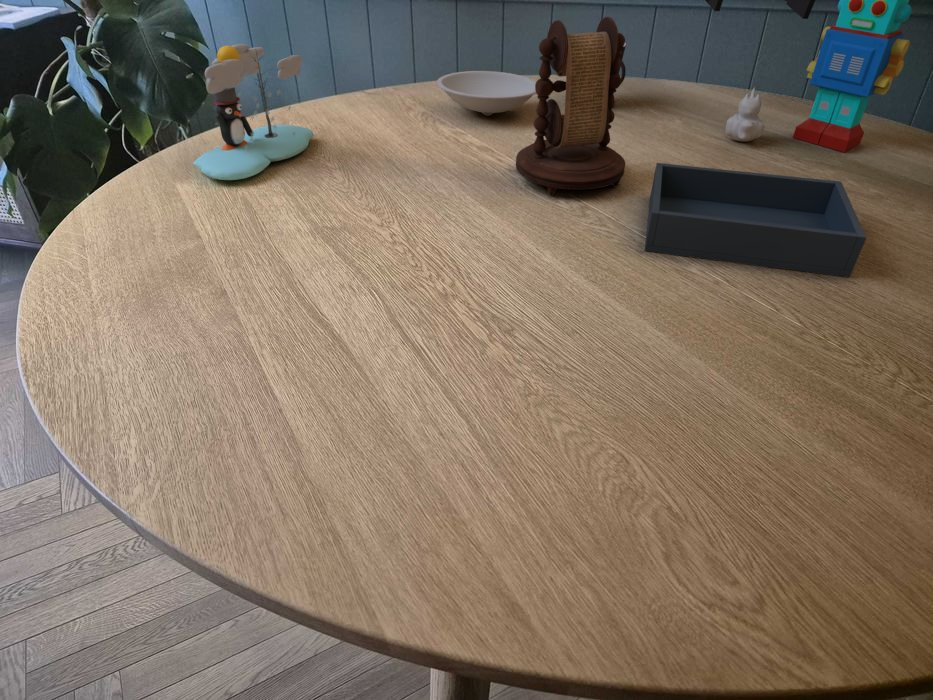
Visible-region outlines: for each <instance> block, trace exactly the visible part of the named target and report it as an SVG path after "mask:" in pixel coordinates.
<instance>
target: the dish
mask: <svg viewBox="0 0 933 700" xmlns="http://www.w3.org/2000/svg"><path fill="white" fill-rule="evenodd" d="M536 82H537V80H535V79H532V78H530V77H527V76H523V75H520V74H515V73H510V72H505V71H495V70H494V71H493V70H492V71H491V70H468V71H457V72H452V73H448V74H444V75H442V76H440V77H439V78H438V79H437V81H436V85H437V87H438V88H440V89H441V90H443V91H444V92H445V93H446V95H447V96H448V97H449V98H450V99H451V100H452V101H453V102H454V103H456V104H457V105H459V106H461V107H462V108H464V109H467V110H469V111H473V112H479V113H482V115H484V116H492V115H493V114H499V113H505V112H510V111H513V110H515V109H518V108H520V107H521V106H522V105H524V104H525V103H526V102H527V101H529V100H530V99H531V98H532V97H533V96H534V95H537V94H536V91H535V84H536Z"/></svg>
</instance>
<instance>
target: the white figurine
mask: <svg viewBox="0 0 933 700" xmlns="http://www.w3.org/2000/svg"><path fill="white" fill-rule="evenodd" d="M760 97H761V96H760V93H759V94H757V95H756V87H755V86H754V87H753V88H752V90H751V93H746V95H745V96H744V97H743V98H742V99H741V100H740V102H739V105H738V109H737V110H738V113H735V114H734V115H733V116H731V117H729V118H728V119H727V121H726V125H725V133H726V135H727V136H729V138H731V139H732V140H734V141H737V142H745V143H747V142H751V141H753V140H755V139H759V138H760V137H761V136H762V135H763V132H764V129H765V123H764V121H763V120H762V119H761V118H760V117H759V114H760V111H761V108H762V101H761V98H760Z"/></svg>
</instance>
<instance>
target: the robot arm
mask: <svg viewBox="0 0 933 700" xmlns="http://www.w3.org/2000/svg"><path fill="white" fill-rule="evenodd" d="M704 1H705V2H706V3H707V5H708V6H709V7H710V8H711V9H712V10H713V11H714V12H720V11H721V8H722V5H723V2H724V0H704ZM783 1H784V2H786V3H785V4H786V6H788V7H789V8H790V9H791V10H792V11H793V12H794V13H796V14H797V15H798V16H799V17H800V18H801V19H803V20H808V19H809V17H810V14H811V12H812V9H813V7H814V5H815V3H816V0H783Z"/></svg>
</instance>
